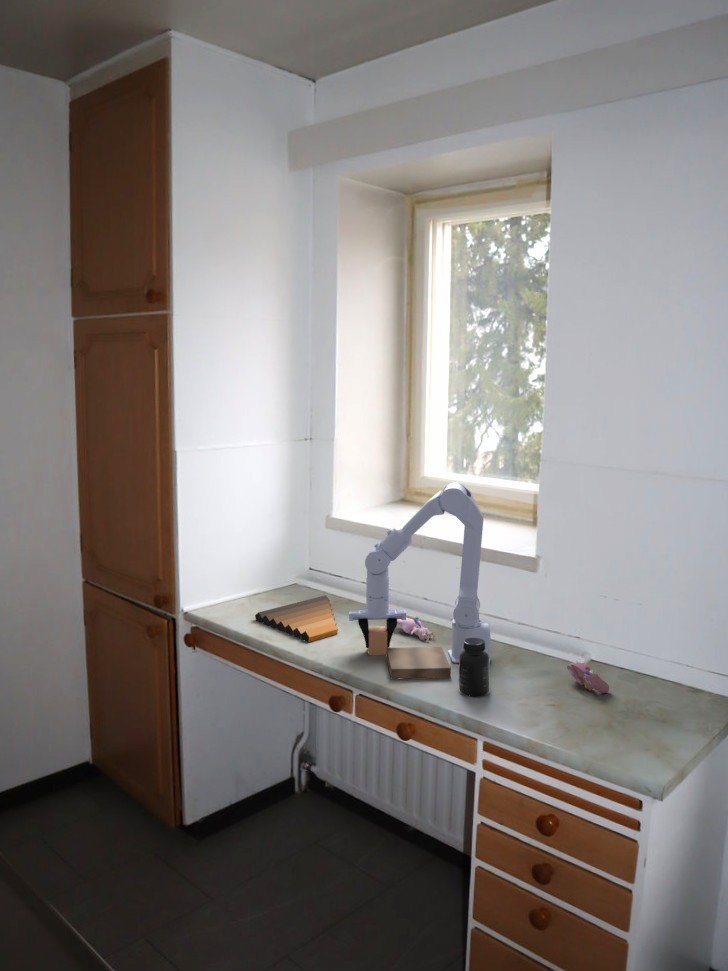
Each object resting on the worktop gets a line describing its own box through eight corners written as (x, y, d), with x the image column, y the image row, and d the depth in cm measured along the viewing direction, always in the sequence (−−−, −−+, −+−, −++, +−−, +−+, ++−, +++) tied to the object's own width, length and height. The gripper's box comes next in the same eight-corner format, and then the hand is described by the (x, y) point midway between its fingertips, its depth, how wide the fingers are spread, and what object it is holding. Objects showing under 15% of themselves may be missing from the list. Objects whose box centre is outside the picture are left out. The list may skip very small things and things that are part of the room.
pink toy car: (571, 685, 191) (560, 662, 189) (585, 675, 192) (575, 651, 190) (597, 702, 182) (586, 678, 180) (612, 691, 183) (602, 666, 181)
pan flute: (322, 604, 250) (255, 622, 233) (322, 593, 249) (254, 610, 232) (378, 624, 231) (309, 644, 215) (378, 612, 231) (309, 632, 214)
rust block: (385, 648, 211) (385, 626, 210) (387, 654, 206) (387, 632, 205) (367, 648, 210) (368, 626, 209) (369, 655, 206) (369, 632, 205)
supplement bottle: (479, 683, 188) (480, 634, 186) (494, 695, 182) (496, 644, 180) (453, 688, 186) (454, 637, 184) (467, 699, 179) (468, 648, 177)
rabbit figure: (438, 643, 218) (401, 621, 229) (441, 623, 217) (404, 601, 228) (422, 648, 214) (384, 625, 225) (425, 628, 213) (387, 606, 224)
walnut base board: (441, 656, 205) (441, 646, 205) (450, 678, 191) (450, 667, 191) (386, 657, 204) (386, 647, 204) (391, 679, 191) (391, 669, 190)
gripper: (404, 590, 210) (404, 640, 212) (348, 591, 209) (348, 641, 212) (407, 598, 203) (406, 650, 205) (349, 599, 202) (349, 651, 205)
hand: (377, 646), depth 208 cm, fingers closed on rust block, 5 cm apart
